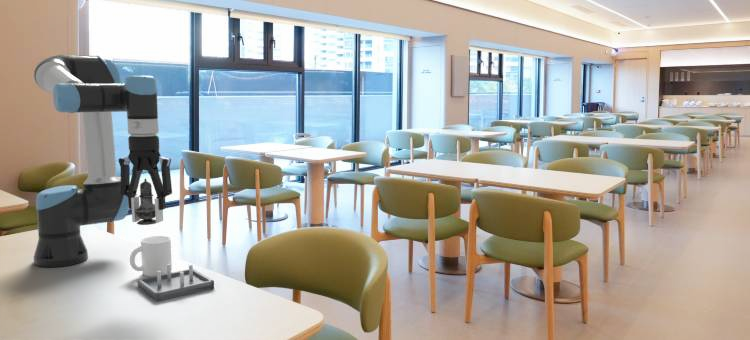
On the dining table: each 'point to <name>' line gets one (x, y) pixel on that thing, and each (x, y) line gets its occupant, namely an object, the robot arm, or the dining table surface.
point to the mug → (153, 255)
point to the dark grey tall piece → (146, 205)
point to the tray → (175, 283)
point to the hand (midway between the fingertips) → (147, 221)
